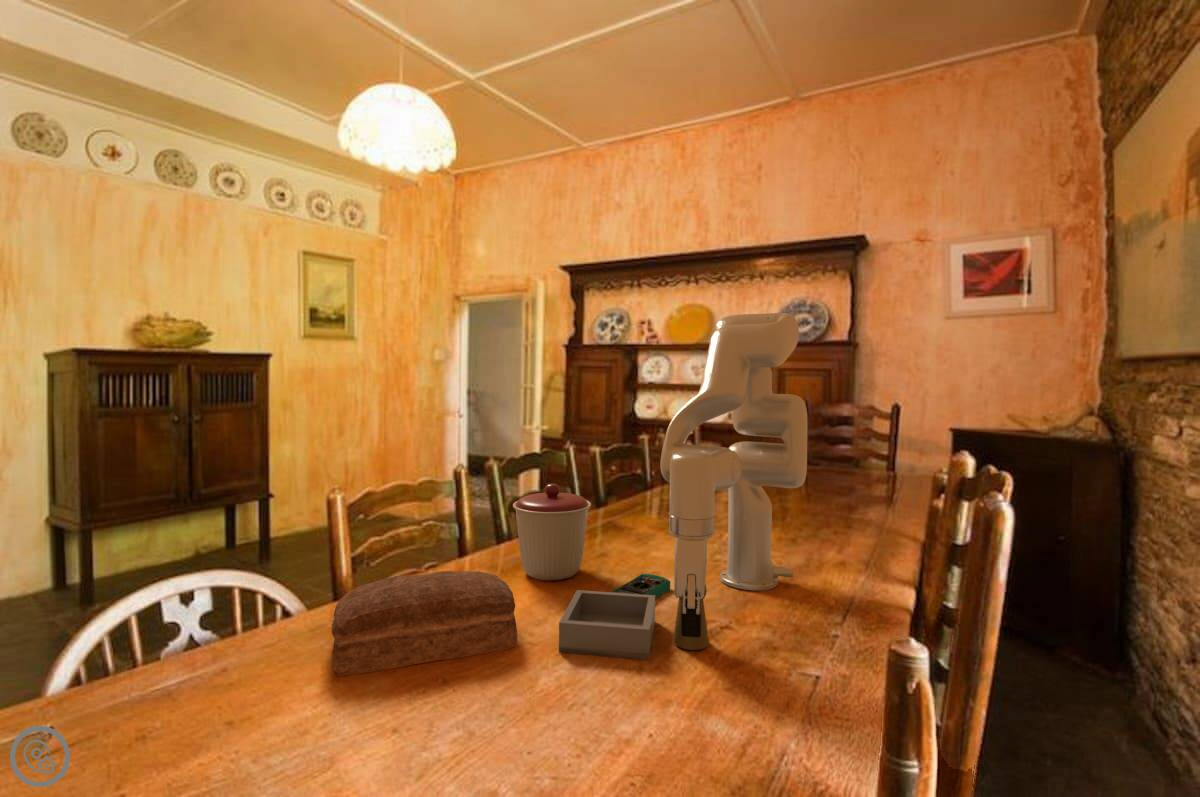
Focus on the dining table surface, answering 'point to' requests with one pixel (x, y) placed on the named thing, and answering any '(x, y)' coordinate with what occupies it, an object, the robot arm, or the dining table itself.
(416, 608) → the bread
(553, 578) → the canister
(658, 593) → the digital multimeter
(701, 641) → the tan piece
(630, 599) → the gray square tray
